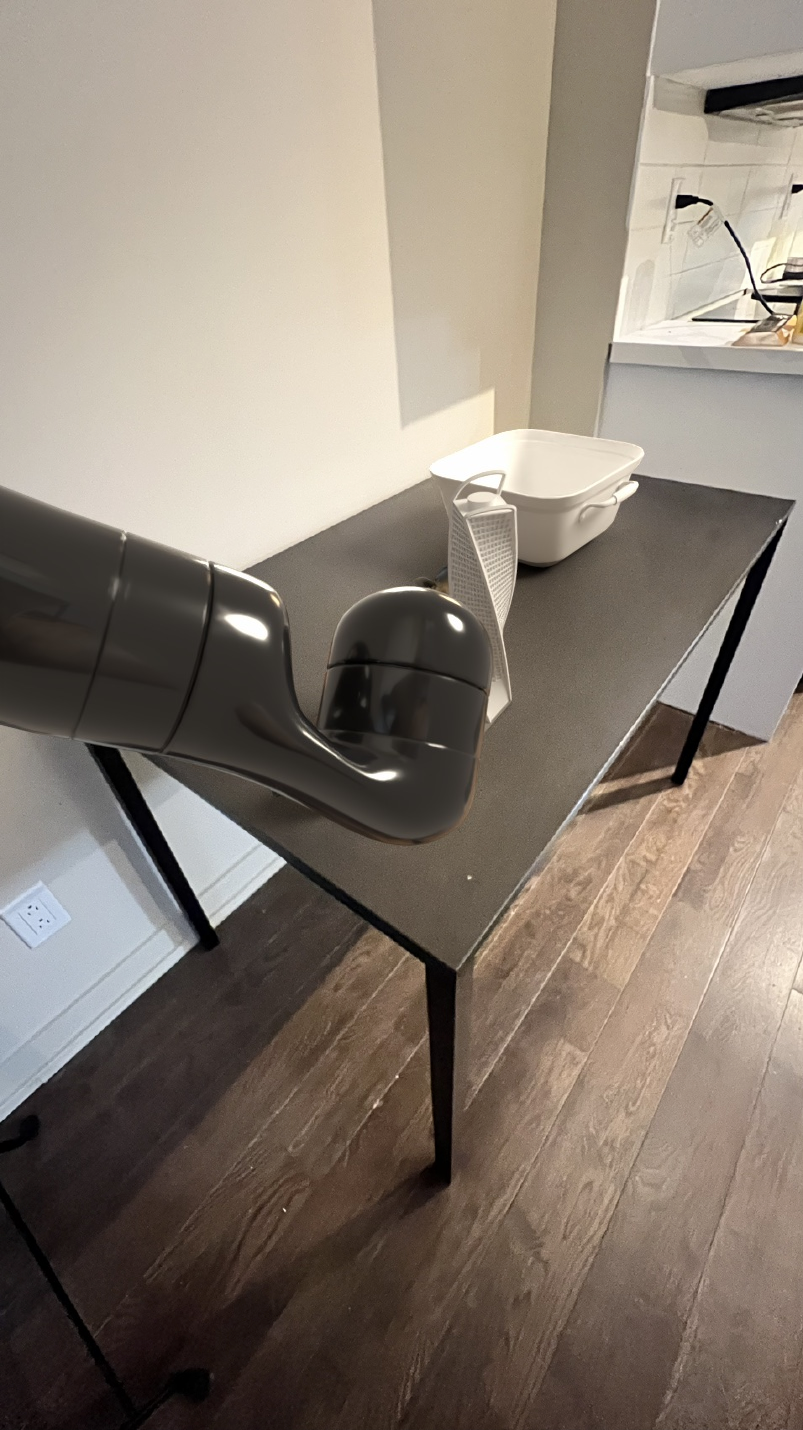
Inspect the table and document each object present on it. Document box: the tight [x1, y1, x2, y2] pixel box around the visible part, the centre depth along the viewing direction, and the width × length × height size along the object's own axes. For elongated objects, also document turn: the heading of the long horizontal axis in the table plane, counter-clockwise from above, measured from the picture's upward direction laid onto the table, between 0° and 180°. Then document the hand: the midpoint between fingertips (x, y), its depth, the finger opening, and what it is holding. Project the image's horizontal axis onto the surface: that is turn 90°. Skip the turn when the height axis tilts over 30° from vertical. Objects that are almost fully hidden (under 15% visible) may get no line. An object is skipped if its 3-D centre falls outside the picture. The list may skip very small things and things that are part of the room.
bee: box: [414, 565, 449, 595], centre depth 97 cm, size 8×7×9 cm
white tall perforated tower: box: [447, 470, 518, 734], centre depth 69 cm, size 8×8×28 cm
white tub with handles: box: [428, 428, 645, 568], centre depth 108 cm, size 34×29×15 cm
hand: (345, 763), depth 58 cm, fingers open, 8 cm apart
